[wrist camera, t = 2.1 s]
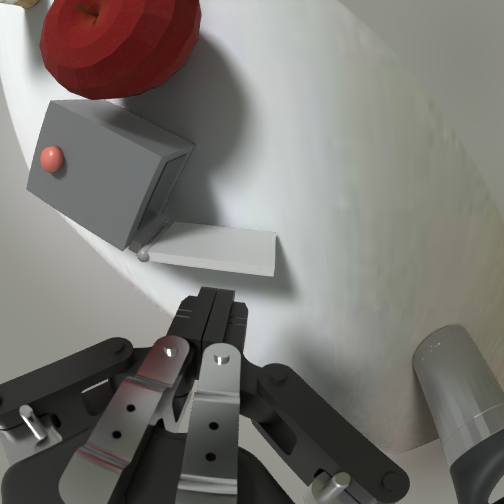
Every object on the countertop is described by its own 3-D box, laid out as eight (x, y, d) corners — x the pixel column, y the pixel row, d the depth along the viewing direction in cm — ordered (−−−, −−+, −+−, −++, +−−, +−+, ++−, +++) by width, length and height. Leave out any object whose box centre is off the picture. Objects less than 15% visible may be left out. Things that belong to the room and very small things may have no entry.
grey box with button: (203, 149, 26) (169, 165, 18) (164, 228, 30) (124, 272, 22) (104, 99, 25) (43, 101, 16) (75, 176, 28) (18, 202, 20)
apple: (87, 80, 24) (-9, 78, 12) (139, -17, 19) (65, -67, 7) (183, 121, 25) (108, 129, 13) (244, 14, 21) (216, -57, 9)
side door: (274, 242, 29) (272, 280, 23) (166, 230, 30) (137, 263, 23) (276, 231, 29) (274, 266, 22) (166, 219, 29) (136, 249, 23)
